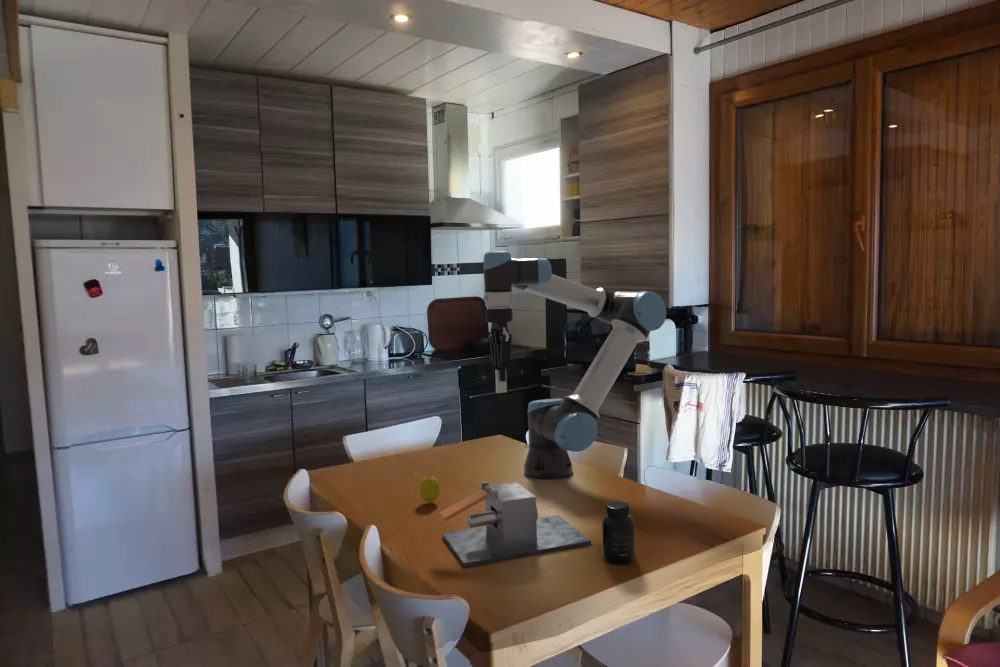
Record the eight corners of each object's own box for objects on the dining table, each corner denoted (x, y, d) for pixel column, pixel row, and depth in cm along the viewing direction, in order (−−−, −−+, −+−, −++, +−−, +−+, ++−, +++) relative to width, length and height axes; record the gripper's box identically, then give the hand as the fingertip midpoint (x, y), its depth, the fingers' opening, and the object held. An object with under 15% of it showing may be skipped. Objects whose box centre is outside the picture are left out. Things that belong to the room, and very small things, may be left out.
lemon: (437, 507, 177) (436, 478, 177) (417, 506, 179) (416, 477, 178) (443, 500, 183) (441, 472, 182) (423, 499, 184) (422, 471, 183)
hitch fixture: (558, 518, 166) (556, 465, 165) (591, 544, 149) (589, 485, 148) (442, 537, 156) (440, 480, 155) (464, 567, 139) (461, 504, 138)
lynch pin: (529, 517, 156) (529, 497, 156) (537, 524, 152) (537, 503, 151) (466, 527, 151) (466, 506, 151) (473, 535, 146) (472, 513, 146)
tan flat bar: (489, 488, 152) (487, 484, 152) (495, 494, 148) (493, 489, 148) (441, 515, 149) (439, 511, 148) (446, 522, 144) (444, 517, 144)
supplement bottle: (599, 553, 145) (598, 499, 144) (629, 551, 145) (629, 498, 144) (607, 566, 138) (606, 510, 137) (639, 564, 138) (638, 508, 137)
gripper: (478, 307, 186) (481, 390, 188) (493, 309, 174) (496, 397, 176) (503, 306, 189) (506, 387, 191) (519, 307, 177) (522, 394, 179)
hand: (501, 392), depth 183 cm, fingers closed
